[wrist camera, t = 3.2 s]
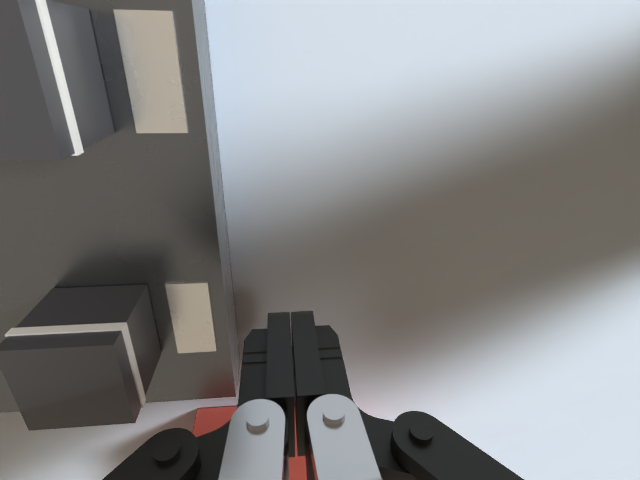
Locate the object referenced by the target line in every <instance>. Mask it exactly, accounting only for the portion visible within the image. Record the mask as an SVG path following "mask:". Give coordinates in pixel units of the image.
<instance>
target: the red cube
mask: <svg viewBox="0 0 640 480" xmlns="http://www.w3.org/2000/svg"><path fill="white" fill-rule="evenodd" d="M236 409H237V406H228V407H214V408H200V409H197V414H196V418H195V423H194V427H193V432H192V433H193V434H194V435H195V437H198V436H201V435H204V434H206V433H209V432H212V431H214V430H216V429H218V428H220V427H222V426H223V425H224V424H226V423H227V422H228V421H229V420H230V419H231V417H232V415H233V414H234V412H235V411H236ZM289 480H306V459H305V456H298V455H297V438H296V421H295V457H289Z"/></svg>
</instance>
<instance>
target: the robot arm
mask: <svg viewBox="0 0 640 480" xmlns="http://www.w3.org/2000/svg"><path fill="white" fill-rule="evenodd" d="M291 340H292V346H291ZM295 421H296V438H297V455H298V456H305V459H306V480H524V479H522V478H521V477H519V476H518V475H516V474H515V473H514V472H512V471H511V470H509V469H508V468H506V467H505V466H504V465H502V464H501V463H499V462H498V461H496V460H495V459H493V458H492V457H491V456H489V455H488V454H486V453H485V452H483V451H482V450H481V449H479V448H478V447H476V446H475V445H473V444H472V443H471V442H469V441H468V440H466V439H465V438H463V437H462V436H460V435H459V434H458V433H456V432H455V431H453V430H452V429H450V428H449V427H448V426H446V425H445V424H443V423H442V422H440V421H439V420H437V419H436V418H435V417H433V416H431V415H429V414H427V413H424V412H419V411H409V412H405V413H403V414H401V415H399V416H398V417H397V418H396V419H395V421H394V422H393V421H389V420H384V419H379V418H376V417H372V416H370V415H368V414H366V413H364V412H363V411H362V410H360V409H359V408H358V407H357V406H356V404H355V403H354V401H353V399H352V396H351V393H350V388H349V384H348V379H347V375H346V371H345V366H344V362H343V359H342V353H341V349H340V344H339V339H338V335H337V334H336V333H335V332H334V331H333V329H332V328H331V327H330V326H329V325H326V326H315V322H314V315H313V311H299V312H291V329H290V313H289V312H280V313H268V326H267V329H252V330H251V332H250V333H249V334H248V336H247V337H246V339H245V340H244V349H243V359H242V369H241V379H240V389H239V399H238V406H237V409H236V411H235V412H234V414H233V415H232V417H231V419H230V420H229V421H228V422H227V423H226V424H224V425H223V426H222V427H220V428H218V429H216V430H214V431H212V432H209V433H206V434H204V435H201V436H198V437H195V435H194V434H193V433H192V432H190V431H188V430H186V429H181V428H172V429H167V430H164V431H162V432H159V433H157V434H156V435H154V436H152V437H151V438H150V439H149V440H147V441H146V442H145V443H144V444H143V445H142V446H140V447H139V448H138V449H137V450H136V451H135V452H134V453H132V454H131V455H130V456H129V457H128V458H127V459H126V460H124V461H123V462H122V463H121V464H120V465H119V466H117V467H116V468H115V469H114V470H113V471H112V472H111V473H109V474H108V475H107V476H106V477H105V478H104V479H103V480H289V457H295Z"/></svg>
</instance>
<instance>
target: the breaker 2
mask: <svg viewBox="0 0 640 480" xmlns="http://www.w3.org/2000/svg"><path fill="white" fill-rule="evenodd" d="M5 337H6V338H5V339H4V340H3V341H2V342H1V343H0V368H1V370H2V372H3V375H4V377H5V379H6V381H7V383H8V386H9V388H10V390H11V392H12V394H13V397H14V399H15V401H16V403H17V405H18V408H19V410H20V412H21V414H22V416H23V418H24V421H25V423H26V425H27V427H28V429H29V430H42V429H56V428H70V427H84V426H97V425H111V424H125V423H135V422H136V419H137V417H138V414H139V411H140V409H141V408H143V407H144V404H145V402H146V397H145V396H146V393H147V390H148V388H149V385H150V382H151V380H152V377H153V375H154V372H155V369H156V367H157V364H158V361H159V359H160V356H161V354H162V353H161V348H160V344H159V339H158V334H157V329H156V325H155V320H154V315H153V311H152V306H151V301H150V296H149V292H148V287H147V285H123V286H98V287H72V288H52V289H51V290H50V291H49V292H48V294H47V295H46V296H45V297H44V298H43V299H42V300H41V301H40V302H39V303H38V304H37V305H36V306H35V307H34V308H33V309H32V310H31V312H30V313H29V314H28V315H27V316H26V317H25V318H24V319H23V320H22V321H21V322H20V323H19V324H18V325H17V326H16V327H15V328H11V329H10V330H9V331H8V332H7V333H6V334H5Z"/></svg>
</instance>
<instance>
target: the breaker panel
mask: <svg viewBox="0 0 640 480" xmlns="http://www.w3.org/2000/svg"><path fill="white" fill-rule="evenodd" d="M50 1H54V2H59V3H63V4H68V5H73V6H77V7H82V8H86V9H89V13H90V18H91V23H92V28H93V32H94V37H95V42H96V46H97V51H98V56H99V61H100V65H101V70H102V75H103V79H104V84H105V89H106V94H107V98H108V103H109V108H110V112H111V117H112V122H113V127H114V131H115V133H114V134H112V135H110V136H108V137H106V138H104V139H102V140H100V141H98V142H96V143H94V144H92V145H90V146H89V147H87V148H85V149H83V151H84V153H82V154H80V155H78V156H69V157H67V158H65V159H63V160H22V161H0V343H1V342H2V341H3V340H4V339H5V338H6V337H5V334H6V333H7V332H8V331H9V330H10V329H11V328H15V327H16V326H17V325H18V324H19V323H20V322H21V321H22V320H23V319H24V318H25V317H26V316H27V315H28V314H29V313H30V312H31V310H32V309H33V308H34V307H35V306H36V305H37V304H38V303H39V302H40V301H41V300H42V299H43V298H44V297H45V296H46V295H47V294H48V292H49V291H50V290H51V289H52V288H72V287H98V286H123V285H147V287H148V292H149V296H150V301H151V306H152V311H153V315H154V320H155V325H156V329H157V334H158V339H159V344H160V348H161V353H162V354H161V356H160V359H159V361H158V364H157V367H156V369H155V372H154V375H153V377H152V380H151V382H150V385H149V388H148V390H147V393H146V396H145V397H146V402H145V403H147V402H162V401H177V400H191V399H206V398H221V397H236V390H237V382H238V373H239V365H240V357H239V347H238V337H237V327H236V317H235V306H234V296H233V286H232V276H231V266H230V256H229V246H228V236H227V226H226V216H225V206H224V195H223V185H222V175H221V165H220V155H219V145H218V135H217V125H216V115H215V105H214V95H213V84H212V74H211V64H210V54H209V44H208V34H207V24H206V14H205V4H204V0H50ZM14 411H20V410H19V408H18V405H17V403H16V401H15V399H14V397H13V394H12V392H11V390H10V388H9V386H8V383H7V381H6V379H5V377H4V375H3V372H2V370H1V368H0V412H14Z"/></svg>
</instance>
